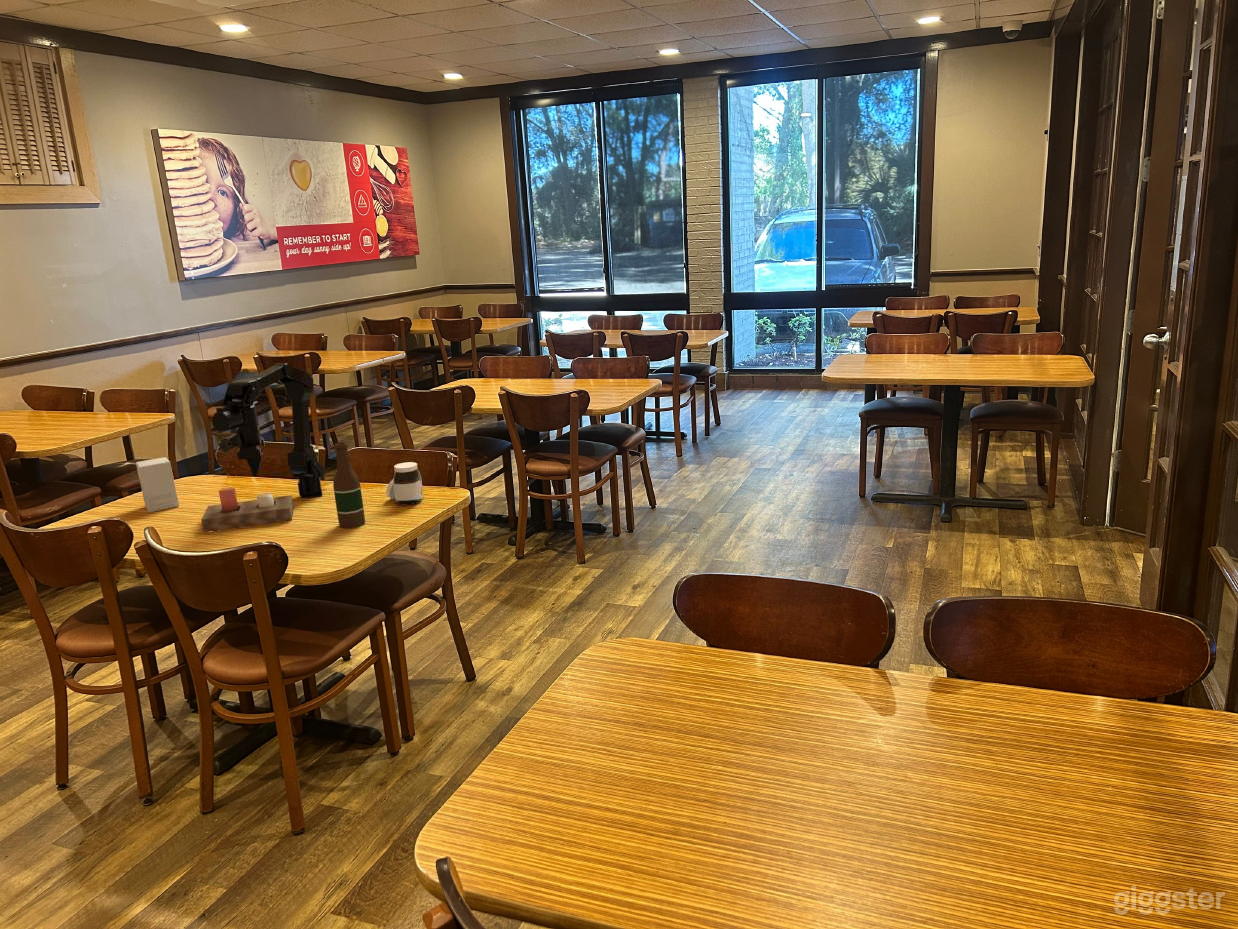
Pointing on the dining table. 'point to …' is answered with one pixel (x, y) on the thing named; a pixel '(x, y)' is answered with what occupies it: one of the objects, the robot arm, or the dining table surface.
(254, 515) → the press panel
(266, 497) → the grey plunger
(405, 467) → the spread jar
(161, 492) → the supplement box
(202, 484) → the dining table surface
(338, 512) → the beer bottle
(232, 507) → the red plunger
